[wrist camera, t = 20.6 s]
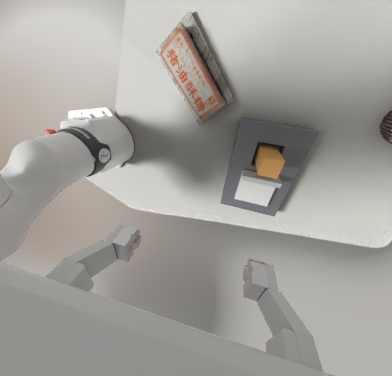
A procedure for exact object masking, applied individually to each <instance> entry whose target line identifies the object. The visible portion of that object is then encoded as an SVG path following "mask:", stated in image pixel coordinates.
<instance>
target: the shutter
mask: <svg viewBox="0 0 392 376" xmlns="http://www.w3.org/2000/svg"><path fill="white" fill-rule="evenodd" d="M281 186H282V183H281V180H280V178H279V177H278V178H277V179H274V178H270V177H265V176H260V175H257V172H252V171H248V170H243V171H242V174H241V178H240V181H239V184H238V187H237V191H236V194H235V197H234V199H237V200H241V201H246V202H250V203H254V204H258V205H262V206H267V205H268V203H269V201H270V199H271V197H272V194H273V192H274V190H275V188H281Z"/></svg>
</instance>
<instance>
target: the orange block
mask: <svg viewBox="0 0 392 376" xmlns="http://www.w3.org/2000/svg"><path fill="white" fill-rule="evenodd" d="M255 163H256V169H257V175H260V176H265V177H270V178H274V179H277V178H278V176H279V174H280V172H281V169H282V167H283V165H284V163H285V160H284V159H283V157H282V155H281V153H280V152H279V150H278V148H277V147H276V146H271V145H266V144H259V147H258V150H257V153H256V156H255Z"/></svg>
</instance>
